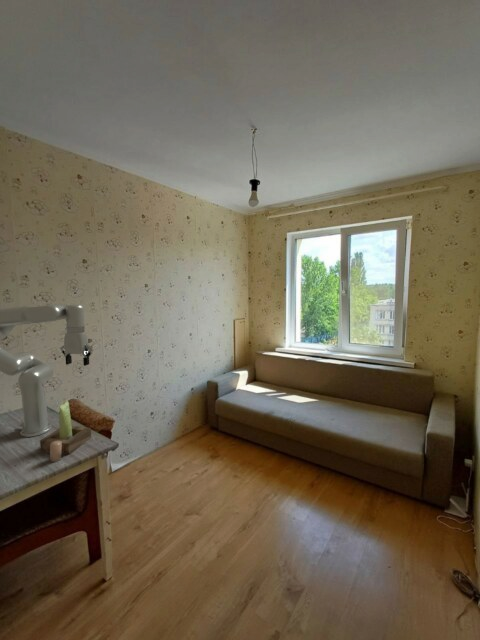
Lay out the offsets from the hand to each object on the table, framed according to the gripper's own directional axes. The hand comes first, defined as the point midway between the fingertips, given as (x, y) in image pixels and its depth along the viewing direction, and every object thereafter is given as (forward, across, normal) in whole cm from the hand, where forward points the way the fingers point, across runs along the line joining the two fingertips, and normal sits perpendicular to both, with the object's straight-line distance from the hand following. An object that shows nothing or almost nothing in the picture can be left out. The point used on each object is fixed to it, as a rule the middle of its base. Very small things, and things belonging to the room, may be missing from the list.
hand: (77, 364), depth 141 cm
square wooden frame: (+33, +4, -14) cm, 36 cm away
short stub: (+33, +8, -25) cm, 42 cm away
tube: (+34, +4, -14) cm, 36 cm away
